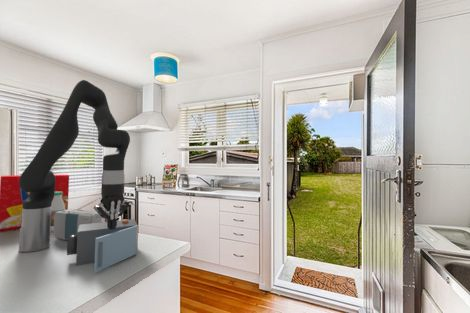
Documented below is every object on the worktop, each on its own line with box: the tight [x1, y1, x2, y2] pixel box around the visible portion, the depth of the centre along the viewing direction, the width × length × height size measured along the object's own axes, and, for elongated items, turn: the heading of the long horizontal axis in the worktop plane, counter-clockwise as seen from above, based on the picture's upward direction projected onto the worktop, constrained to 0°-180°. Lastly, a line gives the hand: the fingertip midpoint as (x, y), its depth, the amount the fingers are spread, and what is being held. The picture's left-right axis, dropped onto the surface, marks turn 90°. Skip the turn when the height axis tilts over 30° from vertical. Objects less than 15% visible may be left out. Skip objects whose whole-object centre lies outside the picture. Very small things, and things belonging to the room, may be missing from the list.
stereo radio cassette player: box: [53, 197, 103, 241], centre depth 106 cm, size 21×8×20 cm, turn 76°
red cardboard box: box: [0, 174, 70, 233], centre depth 125 cm, size 28×8×28 cm, turn 134°
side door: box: [93, 224, 139, 273], centre depth 82 cm, size 17×2×11 cm, turn 156°
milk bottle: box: [50, 191, 65, 232], centre depth 119 cm, size 8×8×20 cm
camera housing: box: [66, 218, 138, 266], centre depth 89 cm, size 23×10×13 cm, turn 121°
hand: (112, 228), depth 84 cm, fingers closed
